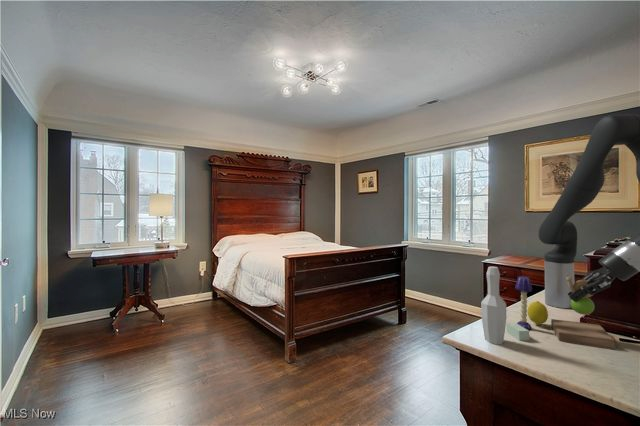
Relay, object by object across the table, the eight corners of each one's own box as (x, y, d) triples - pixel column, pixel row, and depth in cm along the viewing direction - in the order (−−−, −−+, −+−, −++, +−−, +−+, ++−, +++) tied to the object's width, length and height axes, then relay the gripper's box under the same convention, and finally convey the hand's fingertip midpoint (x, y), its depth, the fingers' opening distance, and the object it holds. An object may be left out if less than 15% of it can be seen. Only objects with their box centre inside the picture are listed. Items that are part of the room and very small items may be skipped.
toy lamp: (536, 329, 97) (535, 278, 97) (525, 331, 95) (525, 279, 95) (522, 324, 101) (521, 274, 101) (511, 326, 100) (511, 276, 100)
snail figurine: (566, 308, 95) (565, 271, 95) (593, 312, 91) (593, 273, 91) (566, 314, 91) (566, 275, 90) (595, 318, 87) (594, 277, 86)
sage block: (506, 332, 96) (506, 323, 96) (515, 332, 96) (515, 323, 96) (519, 341, 90) (519, 331, 90) (529, 340, 90) (529, 330, 90)
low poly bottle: (490, 334, 94) (488, 264, 94) (511, 342, 89) (510, 267, 88) (477, 339, 91) (476, 266, 91) (498, 347, 86) (497, 270, 85)
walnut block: (551, 328, 99) (551, 318, 99) (599, 334, 93) (599, 324, 93) (559, 342, 89) (559, 332, 89) (614, 350, 83) (614, 339, 83)
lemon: (539, 329, 97) (539, 304, 97) (523, 323, 102) (523, 299, 102) (552, 327, 99) (552, 302, 98) (536, 321, 104) (535, 297, 104)
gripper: (606, 247, 93) (556, 283, 99) (620, 254, 81) (563, 294, 87) (630, 266, 90) (577, 301, 96) (649, 275, 78) (587, 315, 85)
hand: (571, 297), depth 92 cm, fingers closed on snail figurine
